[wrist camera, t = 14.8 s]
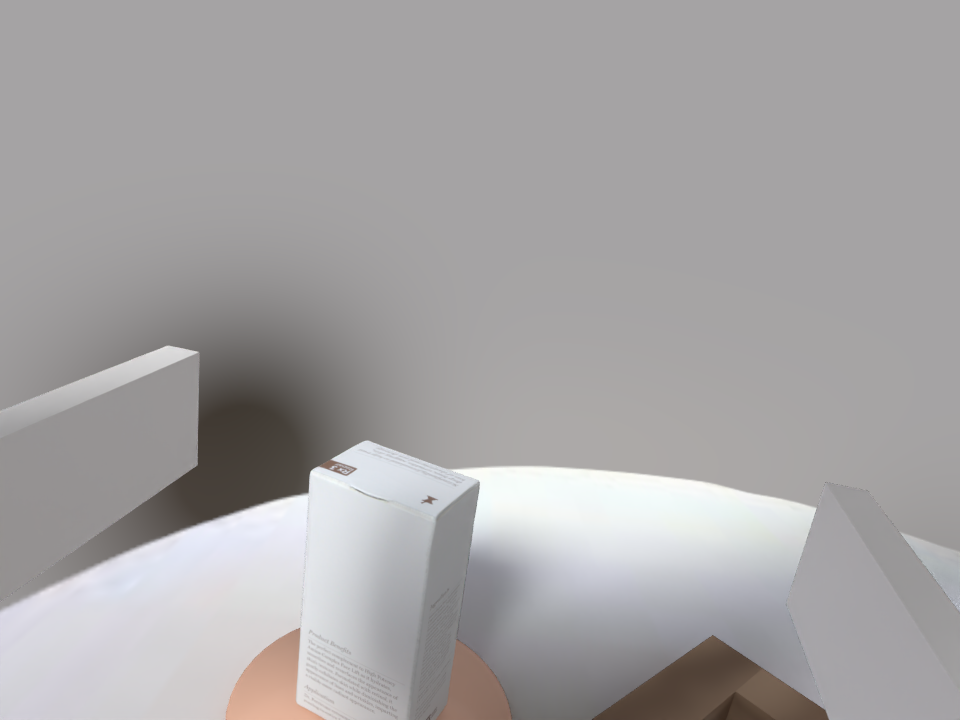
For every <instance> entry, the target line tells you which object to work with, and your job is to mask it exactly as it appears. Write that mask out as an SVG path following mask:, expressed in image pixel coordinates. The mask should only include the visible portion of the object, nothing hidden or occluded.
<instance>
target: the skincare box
mask: <svg viewBox="0 0 960 720" xmlns="http://www.w3.org/2000/svg"><path fill="white" fill-rule="evenodd" d="M479 485H480V482H479V481H478V480H476V479H473V478H470V477H467V476H464V475H461V474H458V473H456V472H453V471H450V470H448V469H445V468H442V467H439V466H437V465H434V464H431V463H428V462H425V461H422V460H420V459H417V458H414V457H411V456H409V455H406V454H403V453H400V452H397V451H395V450H392V449H389V448H386V447H383V446H381V445H378V444H375V443H373V442H370V441H364V442H362V443H360V444H358V445H356V446H354V447H352V448H350V449H349V450H347V451H345V452H343V453H342V454H340V455H338V456H336V457H334V458H333V459H331V460H329V461H328V462H326V463H324V464H322V465H321V466H319V467H317V468H314V470H312V471H311V473H310V483H309V502H308V517H307V536H306V552H305V567H304V583H303V597H302V612H301V628H300V646H299V661H298V675H297V689H296V702H297V704H299V705H300V706H302V707H304V708H306V709H308V710H309V711H311V712H313V713H315V714H317V715H319V716H320V717H322V718H324V719H326V720H436V719H437V717H438V716H439V715H440V713H441V712H442V711H443V709H444V708H445V706H446V704H447V700H448V693H449V685H450V678H451V671H452V666H453V658H454V653H455V646H456V638H457V632H458V626H459V619H460V613H461V606H462V599H463V593H464V586H465V579H466V573H467V566H468V560H469V553H470V546H471V541H472V533H473V524H474V518H475V513H476V507H477V500H478V494H479Z"/></svg>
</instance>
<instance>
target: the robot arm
mask: <svg viewBox="0 0 960 720" xmlns="http://www.w3.org/2000/svg"><path fill="white" fill-rule="evenodd" d="M198 396H199V352H196V351H191V350H187V349H182V348H176V347H172V346H166V347H163V348H161V349H158V350H156V351H153V352H151V353H148V354H145V355H143V356H140V357H137V358H135V359H132V360H130V361H127V362H125V363H122V364H120V365H117V366H114V367H112V368H109V369H107V370H104V371H101V372H99V373H96V374H94V375H91V376H88V377H86V378H83V379H81V380H78V381H76V382H73V383H70V384H68V385H66V386H63V387H60V388H58V389H55V390H53V391H50V392H48V393H45V394H42V395H40V396H37V397H35V398H32V399H29V400H27V401H24V402H22V403H19V404H17V405H14V406H11V407H9V408H7V409H4V410H1V411H0V602H1V601H2V600H4V599H5V598H7V597H8V596H10V595H11V594H13V593H14V592H15V591H17V590H18V589H20V588H21V587H23V586H24V585H25V584H27V583H28V582H30V581H31V580H33V579H34V578H36V577H37V576H38V575H40V574H41V573H43V572H44V571H46V570H47V569H49V568H50V567H51V566H52V565H54V564H56V563H57V562H59V561H60V560H61V559H63V558H64V557H66V556H67V555H69V554H70V553H71V552H73V551H74V550H76V549H77V548H79V547H80V546H82V545H83V544H84V543H86V542H87V541H89V540H90V539H92V538H93V537H95V536H96V535H97V534H99V533H100V532H102V531H103V530H105V529H106V528H108V527H109V526H110V525H112V524H113V523H115V522H116V521H117V520H119V519H120V518H122V517H123V516H125V515H126V514H128V513H129V512H131V511H132V510H133V509H135V508H136V507H137V506H139V505H140V504H142V503H144V502H145V501H146V500H148V499H149V498H151V497H152V496H154V495H155V494H156V493H158V492H159V491H161V490H162V489H164V488H165V487H166V486H168V485H169V484H171V483H172V482H174V481H175V480H177V479H178V478H180V477H181V476H182V475H184V474H185V473H187V472H188V471H190V470H191V469H192V468H194V467H195V466H197V452H198ZM786 605H787V607H788V610H789V613H790V615H791V618H792V621H793V624H794V626H795V629H796V632H797V634H798V637H799V640H800V643H801V645H802V648H803V651H804V653H805V656H806V659H807V661H808V664H809V667H810V670H811V672H812V675H813V678H814V680H815V683H816V686H817V689H818V691H819V694H820V697H821V699H822V702H823V705H824V707H825V710H826V713H827V716H828V718H829V720H960V612H959V611H958V610H957V608H956V607H955V606H954V604H953V603H952V602H951V600H950V599H949V598H948V596H947V595H946V594H945V592H944V591H943V590H942V588H941V587H940V586H939V584H938V583H937V582H936V580H935V579H934V578H933V576H932V575H931V574H930V572H929V571H928V570H927V568H926V567H925V566H924V565H923V563H922V562H921V561H920V559H919V558H918V557H917V555H916V554H915V553H914V551H913V550H912V549H911V547H910V546H909V545H908V543H907V542H906V541H905V539H904V538H903V537H902V535H901V534H900V533H899V531H898V530H897V529H896V527H895V526H894V525H893V523H892V522H891V521H890V519H889V518H888V517H887V515H886V514H885V513H884V511H883V510H882V509H881V507H880V506H879V505H878V503H877V502H876V501H875V499H874V498H873V497H872V496H871V494H870V493H869V491H867V490H862V489H857V488H852V487H848V486H843V485H838V484H833V483H828V482H825V485H824V488H823V491H822V494H821V497H820V500H819V503H818V506H817V510H816V513H815V516H814V519H813V522H812V525H811V528H810V531H809V534H808V537H807V541H806V544H805V547H804V550H803V553H802V556H801V559H800V562H799V565H798V568H797V572H796V575H795V578H794V581H793V584H792V587H791V590H790V593H789V596H788V600H787V603H786Z"/></svg>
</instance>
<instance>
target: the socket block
mask: <svg viewBox="0 0 960 720" xmlns="http://www.w3.org/2000/svg"><path fill="white" fill-rule="evenodd" d="M592 720H829V718H828V716H827V713H826V710H824V709H823V708H821V707H820V706H818V705H817V704H815V703H814V702H812V701H811V700H809V699H808V698H806V697H805V696H803V695H802V694H800V693H799V692H797V691H796V690H794V689H793V688H791V687H790V686H788V685H787V684H785V683H784V682H782V681H781V680H779V679H778V678H776V677H775V676H773V675H772V674H770V673H769V672H767V671H766V670H764V669H763V668H761V667H760V666H758V665H757V664H755V663H754V662H752V661H751V660H749V659H748V658H746V657H745V656H743V655H742V654H740V653H739V652H737V651H736V650H734V649H733V648H731V647H730V646H728V645H727V644H725V643H724V642H722V641H721V640H719V639H718V638H716V637H715V636H713V635H712V636H711V637H709V638H708V639H706V640H705V641H704V642H702V643H701V644H699V645H698V646H696V647H695V648H694V649H692V650H691V651H689V652H688V653H686V654H685V655H684V656H682V657H681V658H679V659H678V660H676V661H675V662H674V663H672V664H671V665H669V666H668V667H666V668H665V669H664V670H662V671H661V672H659V673H658V674H656V675H655V676H653V677H652V678H651V679H649V680H648V681H646V682H645V683H643V684H642V685H641V686H639V687H638V688H636V689H635V690H633V691H632V692H631V693H629V694H628V695H626V696H625V697H623V698H622V699H621V700H619V701H618V702H616V703H615V704H613V705H612V706H611V707H609V708H608V709H606V710H605V711H603V712H602V713H600V714H599V715H598V716H596V717H595V718H593V719H592Z"/></svg>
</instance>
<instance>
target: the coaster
mask: <svg viewBox="0 0 960 720" xmlns="http://www.w3.org/2000/svg"><path fill="white" fill-rule="evenodd" d="M299 646H300V628H299V629H296V630H294V631H292V632H290V633H288V634H286V635H285V636H283V637H281V638H279V639H278V640H276V641H275V642H274V643H272V644H271V645H269V646H268V647H267V648H265V649H264V650H263V651H262V652H261V653H260V654H259V655H258V656H257V657H256V658H254V660H253V661H252V662H251V663H250V664H249V666H248V667H247V668H246V669H245V670H244V672H243V673H242V675H241V677H240V678H239V680H238V681H237V683H236V685H235V687H234V690H233V692H232V694H231V696H230V700H229V704H228V708H227V711H226V720H326V719H324V718H322V717H320V716H319V715H317V714H315V713H313V712H311V711H309V710H308V709H306V708H304V707H302V706H300V705H299V704H297V702H296V689H297V675H298V661H299ZM436 720H512V716H511V712H510V707H509V703H508V700H507V698H506V695H505V693H504V690H503V688H502V686H501V685H500V683H499V681H498V679H497V677H496V676H495V675H494V673H493V672H492V671H491V669H490V668H489V667H488V665H487V664H486V663H485V662H484V661H483V660H482V659H481V658H480V657H479V656H478V655H477V654H476V653H475V652H474V651H472V650H471V649H470V648H469V647H468V646H466V645H465V644H463V643H462V642H460V641H459V640H457V639H456V646H455V653H454V658H453V666H452V671H451V678H450V685H449V693H448V700H447V704H446V706H445V708H444V709H443V711H442V712H441V713H440V715H439V716H438V717H437V719H436Z"/></svg>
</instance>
